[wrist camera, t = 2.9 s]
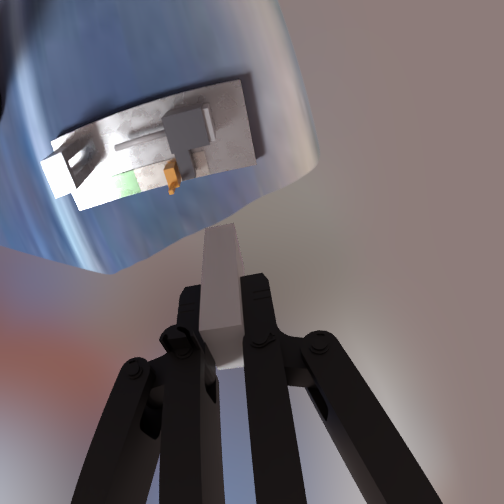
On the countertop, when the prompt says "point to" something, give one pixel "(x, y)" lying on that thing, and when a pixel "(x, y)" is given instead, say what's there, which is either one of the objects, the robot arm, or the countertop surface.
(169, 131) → the grey block with rod
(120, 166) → the gauge board
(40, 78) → the countertop surface
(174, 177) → the orange peg piece
